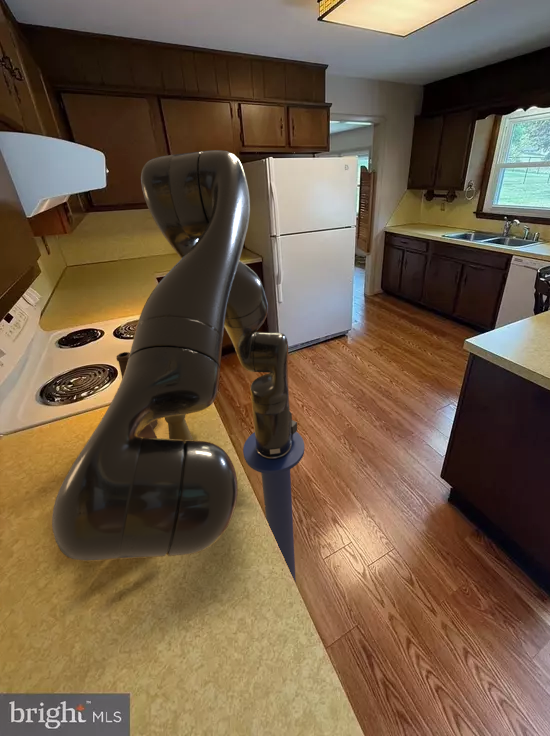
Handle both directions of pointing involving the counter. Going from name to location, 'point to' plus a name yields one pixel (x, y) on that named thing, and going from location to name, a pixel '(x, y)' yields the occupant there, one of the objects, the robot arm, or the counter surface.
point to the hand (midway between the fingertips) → (146, 494)
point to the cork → (178, 428)
